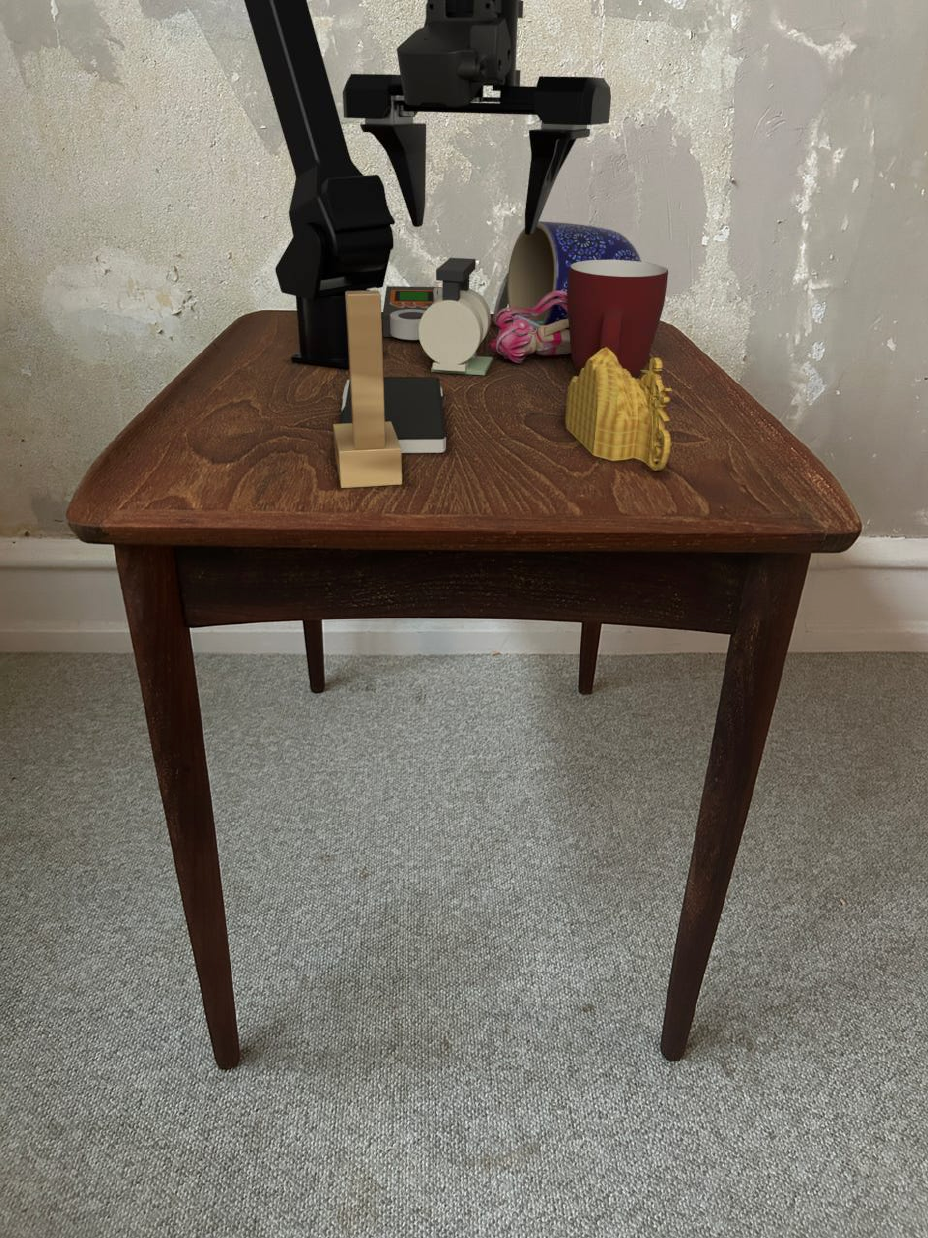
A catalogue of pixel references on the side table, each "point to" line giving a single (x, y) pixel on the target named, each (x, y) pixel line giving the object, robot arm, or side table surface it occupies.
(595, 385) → the figurine
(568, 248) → the planter
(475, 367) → the felt mat
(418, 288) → the electronic device
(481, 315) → the headphones
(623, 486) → the side table surface
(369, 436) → the hook stand
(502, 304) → the figurine
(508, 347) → the toy
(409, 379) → the smartphone
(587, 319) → the mug
